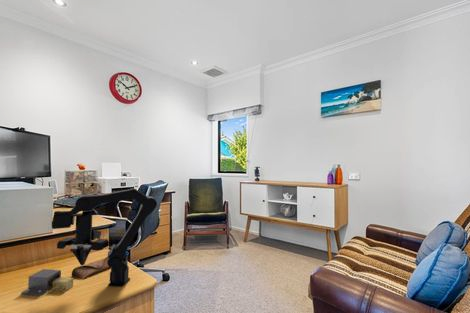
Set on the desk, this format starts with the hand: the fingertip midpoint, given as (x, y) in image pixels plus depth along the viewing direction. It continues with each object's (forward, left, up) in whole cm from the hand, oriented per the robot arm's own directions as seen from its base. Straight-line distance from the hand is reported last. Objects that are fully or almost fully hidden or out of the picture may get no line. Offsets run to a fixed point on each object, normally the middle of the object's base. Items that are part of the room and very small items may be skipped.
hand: (82, 265), depth 96 cm
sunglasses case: (+5, -16, -10) cm, 20 cm away
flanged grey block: (+16, 0, -10) cm, 19 cm away
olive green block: (+8, 0, -10) cm, 13 cm away
